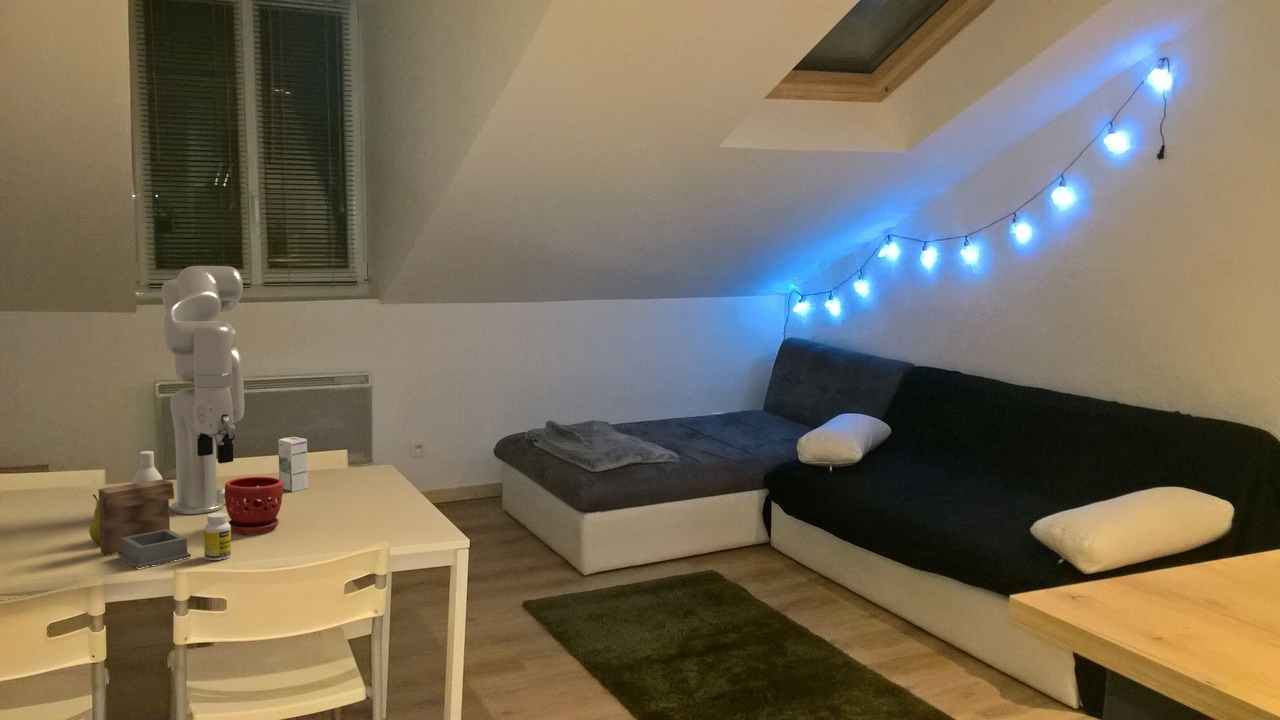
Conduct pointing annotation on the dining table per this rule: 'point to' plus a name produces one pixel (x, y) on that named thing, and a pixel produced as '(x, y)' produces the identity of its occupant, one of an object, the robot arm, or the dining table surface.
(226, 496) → the plant pot
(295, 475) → the syrup box
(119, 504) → the wooden block
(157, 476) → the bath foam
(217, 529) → the supplement bottle
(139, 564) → the socket
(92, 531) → the fruit
